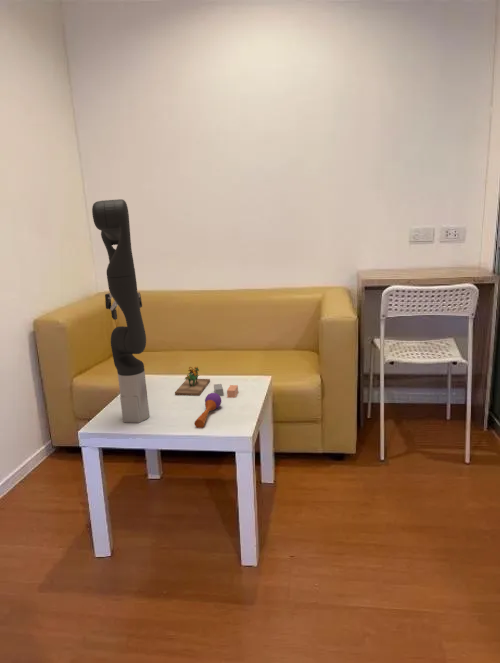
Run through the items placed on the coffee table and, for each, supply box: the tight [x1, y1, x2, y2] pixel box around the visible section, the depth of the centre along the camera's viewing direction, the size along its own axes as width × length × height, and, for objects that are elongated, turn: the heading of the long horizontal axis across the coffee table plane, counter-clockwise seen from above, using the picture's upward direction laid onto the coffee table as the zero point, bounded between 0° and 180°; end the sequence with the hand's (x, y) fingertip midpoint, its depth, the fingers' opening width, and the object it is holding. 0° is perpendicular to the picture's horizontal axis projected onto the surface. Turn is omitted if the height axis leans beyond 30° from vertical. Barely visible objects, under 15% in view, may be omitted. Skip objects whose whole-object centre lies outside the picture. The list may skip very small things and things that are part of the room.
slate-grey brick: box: [213, 383, 224, 397], centre depth 204 cm, size 6×3×3 cm, turn 9°
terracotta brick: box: [226, 384, 239, 399], centre depth 202 cm, size 6×3×3 cm, turn 169°
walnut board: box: [174, 378, 211, 397], centre depth 211 cm, size 16×10×1 cm, turn 169°
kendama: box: [193, 392, 222, 429], centre depth 183 cm, size 6×6×20 cm
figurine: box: [184, 366, 200, 386], centre depth 210 cm, size 3×12×8 cm, turn 158°
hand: (125, 319), depth 205 cm, fingers open, 8 cm apart
